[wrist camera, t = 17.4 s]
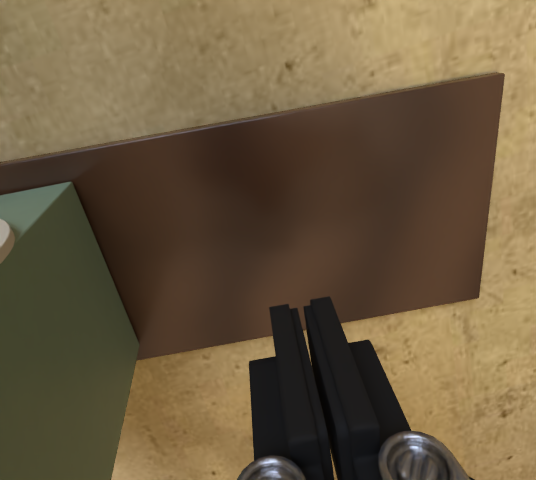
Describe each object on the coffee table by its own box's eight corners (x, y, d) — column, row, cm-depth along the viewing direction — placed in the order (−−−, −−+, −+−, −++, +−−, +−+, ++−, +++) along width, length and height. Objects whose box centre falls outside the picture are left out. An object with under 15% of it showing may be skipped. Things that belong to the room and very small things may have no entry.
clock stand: (26, 373, 19) (22, 381, 19) (-95, 179, 14) (-105, 183, 14) (473, 292, 19) (479, 298, 19) (497, 72, 14) (505, 73, 14)
